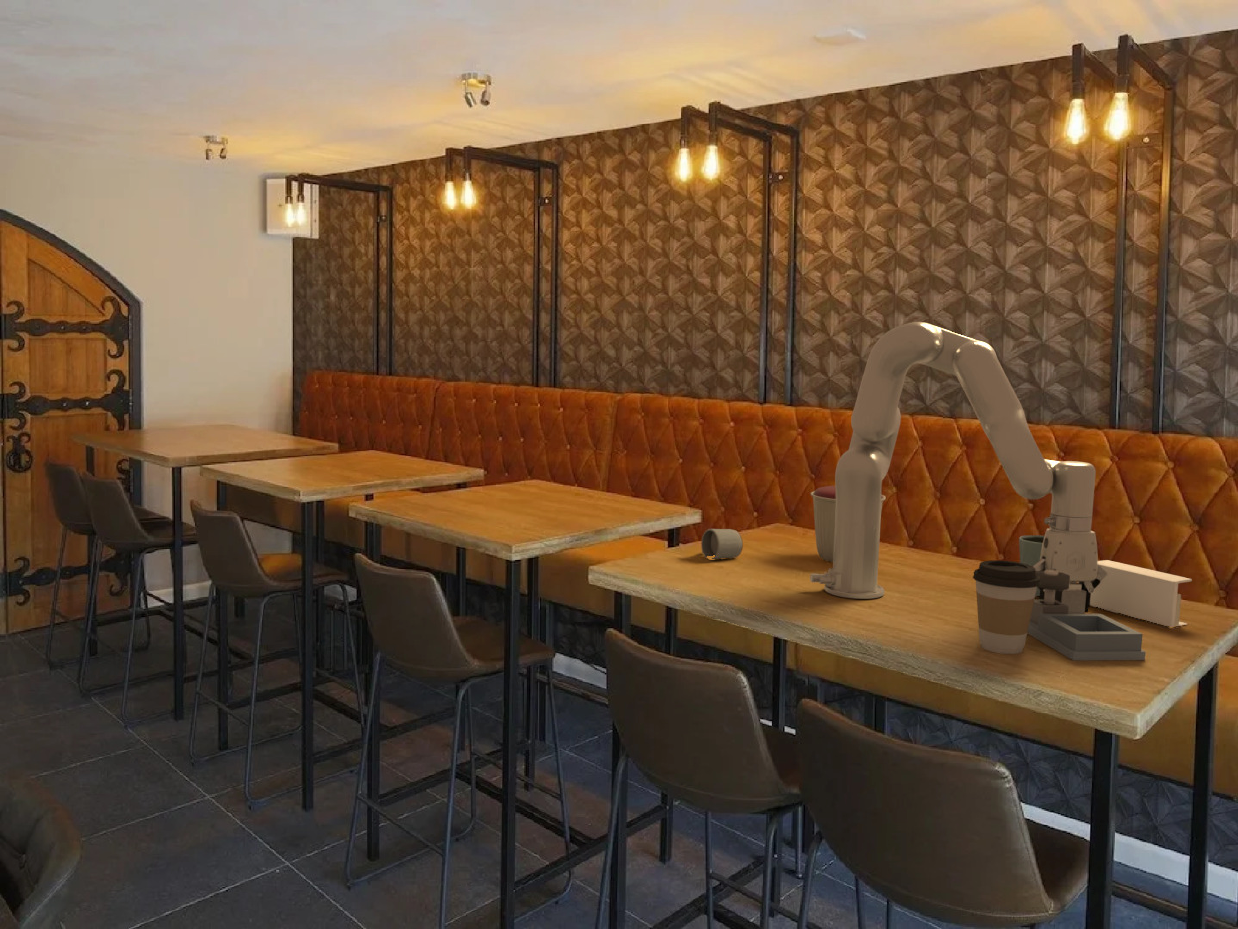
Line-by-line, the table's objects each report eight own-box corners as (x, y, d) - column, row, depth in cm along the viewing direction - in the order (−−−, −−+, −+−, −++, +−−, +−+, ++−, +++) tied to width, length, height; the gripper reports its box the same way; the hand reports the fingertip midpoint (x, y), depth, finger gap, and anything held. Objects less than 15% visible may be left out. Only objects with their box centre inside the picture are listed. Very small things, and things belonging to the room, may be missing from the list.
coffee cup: (1019, 639, 186) (1025, 559, 184) (1047, 658, 175) (1053, 573, 173) (958, 638, 186) (963, 558, 184) (982, 657, 175) (988, 572, 173)
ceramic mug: (744, 560, 249) (745, 529, 248) (717, 563, 244) (718, 531, 244) (719, 552, 258) (720, 522, 257) (693, 555, 254) (693, 525, 253)
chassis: (1073, 660, 174) (1075, 629, 173) (1013, 624, 196) (1014, 596, 195) (1144, 660, 175) (1147, 629, 175) (1077, 624, 197) (1079, 596, 196)
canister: (793, 555, 256) (797, 472, 253) (853, 550, 263) (857, 470, 260) (835, 570, 239) (839, 482, 236) (897, 565, 246) (902, 480, 243)
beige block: (1059, 621, 200) (1062, 585, 199) (1043, 612, 206) (1045, 577, 205) (1084, 621, 200) (1086, 585, 199) (1066, 612, 206) (1069, 577, 206)
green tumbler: (1070, 600, 216) (1074, 544, 215) (1020, 596, 218) (1024, 542, 217) (1059, 588, 226) (1063, 536, 225) (1011, 585, 228) (1015, 533, 227)
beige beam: (1188, 626, 198) (1192, 579, 197) (1170, 629, 195) (1174, 581, 194) (1098, 601, 216) (1102, 558, 214) (1080, 604, 213) (1084, 560, 212)
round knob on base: (1041, 611, 188) (1043, 575, 187) (1024, 602, 194) (1026, 567, 193) (1073, 611, 188) (1076, 575, 187) (1056, 602, 195) (1059, 567, 194)
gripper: (1038, 527, 196) (1031, 616, 198) (1123, 527, 198) (1115, 615, 200) (1019, 520, 204) (1013, 606, 206) (1101, 520, 205) (1094, 605, 207)
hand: (1063, 610), depth 203 cm, fingers open, 7 cm apart
